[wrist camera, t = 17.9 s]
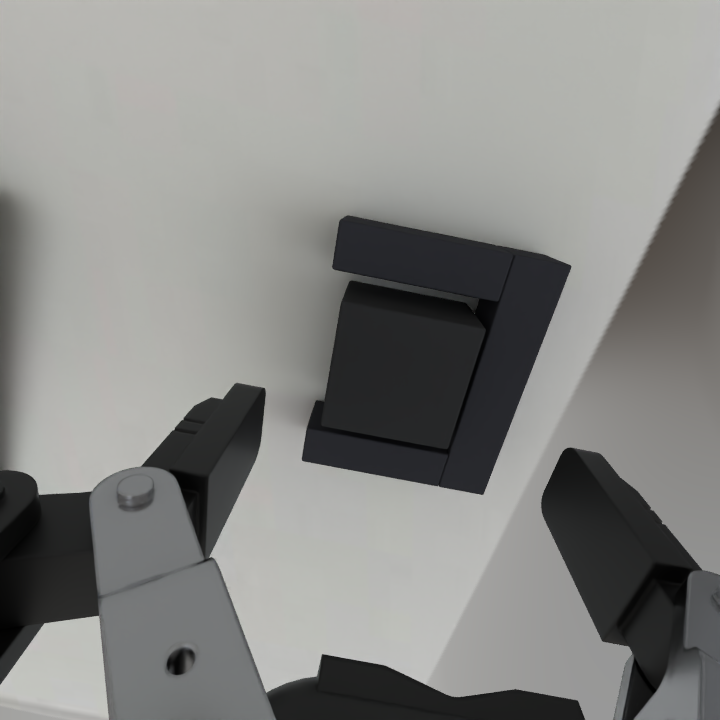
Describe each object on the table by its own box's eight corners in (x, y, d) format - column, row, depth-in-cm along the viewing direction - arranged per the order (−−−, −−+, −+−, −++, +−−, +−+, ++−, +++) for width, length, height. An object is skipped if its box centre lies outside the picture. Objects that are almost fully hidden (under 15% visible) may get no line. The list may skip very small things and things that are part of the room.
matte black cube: (467, 302, 17) (487, 329, 14) (437, 406, 19) (448, 450, 16) (349, 279, 17) (341, 301, 14) (330, 386, 19) (319, 426, 16)
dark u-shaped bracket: (345, 214, 16) (339, 218, 14) (545, 255, 16) (572, 265, 14) (310, 429, 20) (301, 461, 17) (472, 460, 20) (483, 495, 18)
